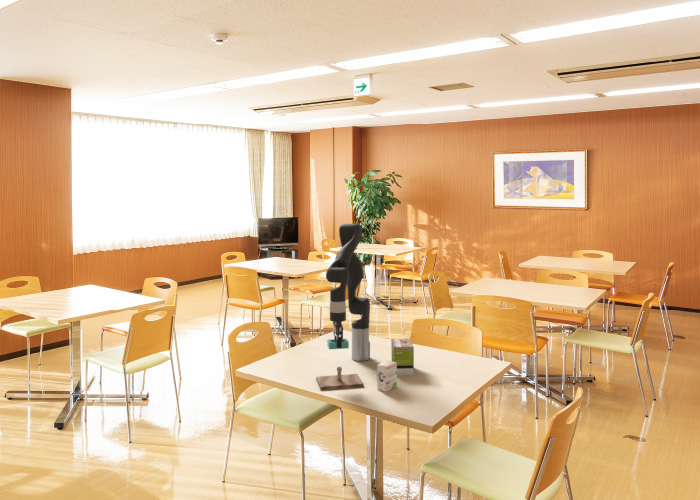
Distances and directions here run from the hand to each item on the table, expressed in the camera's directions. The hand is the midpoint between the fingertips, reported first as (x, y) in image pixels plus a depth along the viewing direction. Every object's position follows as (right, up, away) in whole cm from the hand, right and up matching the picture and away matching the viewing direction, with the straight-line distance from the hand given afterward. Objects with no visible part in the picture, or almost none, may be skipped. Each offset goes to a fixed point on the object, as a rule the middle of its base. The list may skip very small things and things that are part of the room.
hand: (338, 345), depth 253 cm
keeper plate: (+1, -18, +2) cm, 18 cm away
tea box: (+32, -16, +19) cm, 40 cm away
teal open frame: (0, -1, 0) cm, 1 cm away
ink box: (+22, -19, -5) cm, 30 cm away
